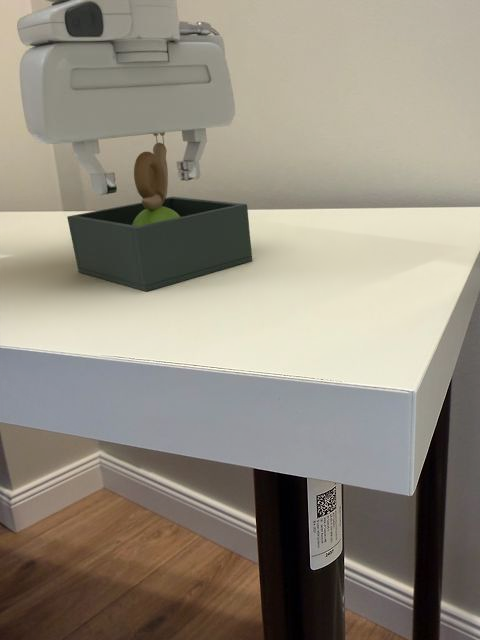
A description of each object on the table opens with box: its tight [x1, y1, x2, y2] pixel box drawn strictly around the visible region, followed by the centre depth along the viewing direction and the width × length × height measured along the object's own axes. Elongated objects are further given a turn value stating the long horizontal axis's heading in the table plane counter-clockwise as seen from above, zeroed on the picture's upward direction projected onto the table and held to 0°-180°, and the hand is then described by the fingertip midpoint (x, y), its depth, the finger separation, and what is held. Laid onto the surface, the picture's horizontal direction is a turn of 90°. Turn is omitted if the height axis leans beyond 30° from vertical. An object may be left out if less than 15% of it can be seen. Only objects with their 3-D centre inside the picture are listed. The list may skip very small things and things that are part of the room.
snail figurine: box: [132, 133, 181, 226], centre depth 62 cm, size 5×6×12 cm
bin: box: [66, 196, 253, 292], centre depth 64 cm, size 12×12×6 cm
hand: (149, 186), depth 62 cm, fingers open, 8 cm apart
